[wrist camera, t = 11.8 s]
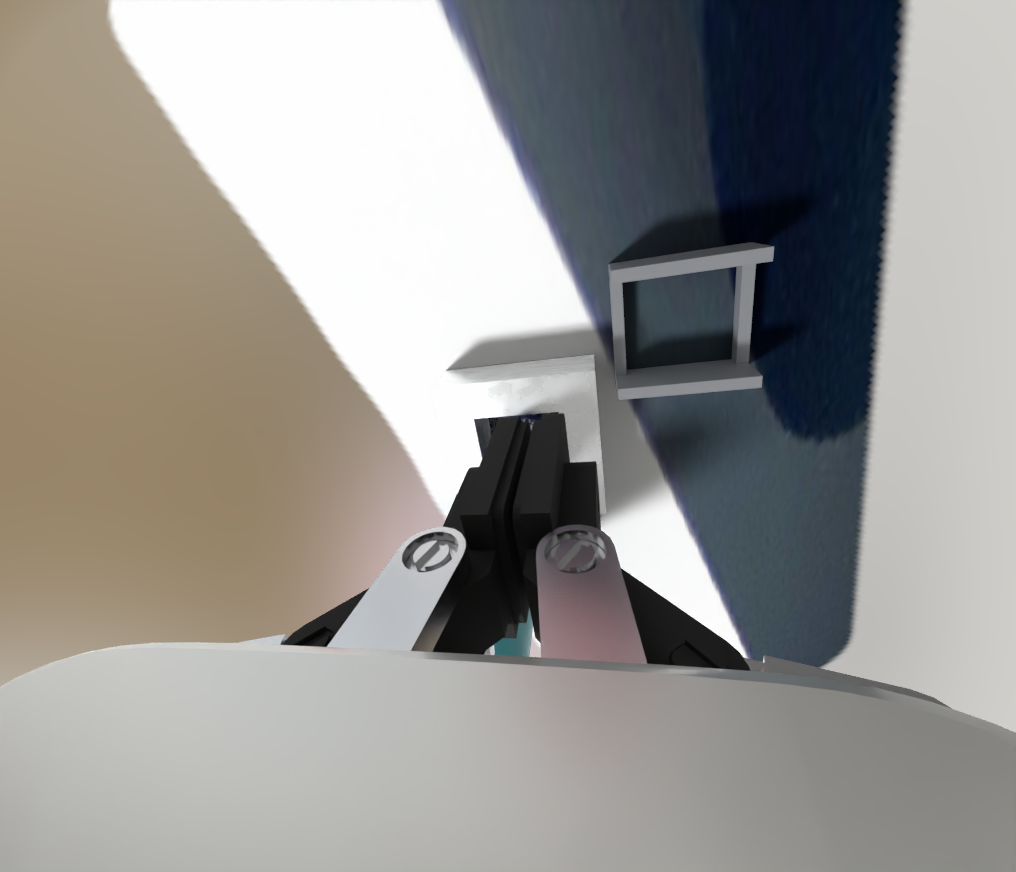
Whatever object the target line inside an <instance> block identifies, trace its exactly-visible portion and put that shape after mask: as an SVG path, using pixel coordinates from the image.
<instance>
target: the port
mask: <svg viewBox="0 0 1016 872" xmlns="http://www.w3.org/2000/svg"><path fill="white" fill-rule="evenodd" d="M430 389H431V393H432V397H433V401H434V405H435V409H436V413H437V417H438V421H439V425H440V429H441V433H442V437H443V441H444V445H445V449H446V453H447V457H448V461H449V465H450V469H451V473H452V477H453V481H454V485H455V489H456V493H458V491H459V489H460V486H461V484H462V482H463V480H464V477H465V475H466V473H467V471H468V469H469V468H471V467H479V466H480V463H481V461H482V458H483V456H484V453H485V451H486V448H487V446H488V443H489V441H490V438H491V436H492V434H491V429H490V424H489V419H488V418H492V417H504V416H515V415H527V414H539V413H551V412H559V413H564V416H565V422H566V431H567V440H568V449H569V458H570V462H591V461H596V463H597V474H598V486H599V501H600V514H606V501H605V485H604V473H603V460H602V447H601V435H600V422H599V409H598V397H597V384H596V372H595V359H594V354H591V355H582V356H573V357H564V358H555V359H546V360H537V361H528V362H519V363H510V364H501V365H492V366H483V367H474V368H465V369H456V370H447V371H445V372H444V373H443V374H442V375H441V376H440V377H439V378H438V380H437V381H436V382H435V383H434V384H433V385H432V386H431V387H430Z"/></svg>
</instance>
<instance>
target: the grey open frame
mask: <svg viewBox="0 0 1016 872" xmlns="http://www.w3.org/2000/svg"><path fill="white" fill-rule="evenodd" d="M773 254H774V246H769V245H764V244H759V243H754V242H749V243H742V244H735V245H729V246H722V247H716V248H709V249H703V250H696V251H690V252H683V253H676V254H670V255H663V256H657V257H650V258H644V259H637V260H631V261H624V262H617V263H611V264H608V266H609V283H610V300H611V316H612V333H613V350H614V367H615V382H616V388H617V394H618V400H626V399H637V398H648V397H660V396H671V395H683V394H694V393H705V392H717V391H728V390H739V389H751V388H761V387H762V375H761V374H760V373H759V372H758V371H757V370H756V369H755V368H754V367H753V366H751V365H750V364H749V351H750V338H751V325H752V311H753V298H754V284H755V271H756V264H757V263H764V262H771V261H773ZM736 266H737V270H736V288H735V305H734V323H733V340H732V358H731V359H727V360H717V361H708V362H698V363H688V364H678V365H668V366H658V367H649V368H639V369H629V370H626V350H625V329H624V308H623V288H622V283H624V282H631V281H638V280H645V279H652V278H659V277H666V276H673V275H680V274H687V273H694V272H701V271H708V270H715V269H722V268H729V267H736Z"/></svg>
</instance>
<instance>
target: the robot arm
mask: <svg viewBox="0 0 1016 872" xmlns="http://www.w3.org/2000/svg"><path fill="white" fill-rule="evenodd" d="M529 608H530V613H531V618H532V622H533V627H534V632H535V637H536V639H537V640H538V641H539V642H540V643H541V658H536V657H519V656H500V655H494V654H495V651H494V644H496V643H497V642H498V641H500V640H501V639H502V638H512V639H516V637H517V631H518V625H519V623H526V622H527V618H528V612H529ZM0 872H1016V733H1015V732H1012V731H1010V730H1008V729H1005V728H1003V727H1001V726H998V725H996V724H994V723H991V722H988V721H985V720H982V719H979V718H976V717H973V716H971V715H968V714H965V713H962V712H959V711H956V710H954V709H952V708H950V707H948V706H947V705H945V704H943V703H942V702H940V701H938V700H937V699H935V698H933V697H930V696H927V695H925V694H922V693H919V692H916V691H913V690H911V689H907V688H902V687H898V686H894V685H889V684H885V683H881V682H877V681H872V680H868V679H864V678H859V677H855V676H851V675H847V674H842V673H838V672H833V671H829V670H825V669H821V668H817V667H812V666H808V665H804V664H799V663H795V662H791V661H786V660H782V659H778V658H774V657H769V656H765V655H764V659H763V662H760V661H756V660H752V659H747V658H743V657H742V655H741V654H740V653H739V652H738V651H737V650H736V649H735V648H734V647H733V646H731V645H730V644H729V643H728V642H727V641H725V640H724V639H723V638H721V637H720V636H718V635H717V634H715V633H714V632H712V631H711V630H709V629H708V628H707V627H705V626H704V625H702V624H701V623H699V622H698V621H696V620H695V619H694V618H692V617H691V616H689V615H688V614H686V613H685V612H683V611H682V610H681V609H679V608H678V607H676V606H675V605H673V604H672V603H670V602H669V601H668V600H666V599H665V598H663V597H662V596H660V595H659V594H657V593H656V592H655V591H653V590H652V589H650V588H649V587H647V586H646V585H644V584H643V583H642V582H640V581H639V580H637V579H636V578H634V577H633V576H631V575H630V574H628V573H627V572H626V571H624V570H623V569H621V568H620V564H619V561H618V557H617V554H616V550H615V546H614V544H613V542H612V540H611V539H610V537H609V536H607V535H606V534H605V533H604V532H603V531H601V523H600V501H599V486H598V474H597V463H596V461H591V462H570V458H569V449H568V440H567V431H566V422H565V416H564V413H559V414H546V415H542V417H541V420H539V421H534V424H533V428H532V432H531V429H530V424H529V421H525V422H522V419H521V417H520V416H518V417H504V418H499V419H498V421H497V423H496V426H495V428H494V431H493V433H492V436H491V438H490V441H489V443H488V446H487V448H486V451H485V453H484V456H483V458H482V461H481V463H480V466H479V467H471V468H469V469H468V471H467V473H466V475H465V477H464V480H463V482H462V484H461V486H460V489H459V491H458V493H457V496H456V498H455V500H454V502H453V505H452V507H451V509H450V512H449V514H448V516H447V518H446V521H445V523H444V525H443V527H434V528H429V529H425V530H423V531H421V532H418V533H416V534H414V535H413V536H412V537H410V538H408V539H407V540H406V541H405V542H404V543H403V544H402V545H401V546H400V547H399V548H398V550H397V551H396V552H395V554H394V555H393V557H392V558H391V559H390V561H389V562H388V563H387V565H386V566H385V568H384V569H383V570H382V572H381V573H380V575H379V576H378V577H377V579H376V580H375V581H374V583H373V584H372V585H371V587H370V588H368V589H367V590H365V591H363V592H362V593H360V594H358V595H357V596H354V597H353V598H351V599H349V600H348V601H346V602H344V603H342V604H341V605H339V606H337V607H336V608H334V609H332V610H330V611H328V612H327V613H325V614H323V615H321V616H320V617H318V618H316V619H315V620H313V621H311V622H309V623H307V624H306V625H304V626H303V627H302V628H300V629H299V630H297V631H295V632H294V633H293V634H292V635H291V636H290V637H289V638H288V639H287V637H286V635H285V634H282V635H277V636H271V637H266V638H260V639H254V640H248V641H243V642H237V643H202V642H199V643H198V642H173V643H145V644H134V645H122V646H116V647H111V648H105V649H100V650H95V651H90V652H85V653H81V654H78V655H75V656H71V657H68V658H65V659H61V660H58V661H55V662H52V663H49V664H47V665H44V666H41V667H39V668H36V669H34V670H32V671H30V672H27V673H25V674H23V675H20V676H18V677H16V678H14V679H12V680H10V681H8V682H7V683H5V684H3V685H2V686H0Z"/></svg>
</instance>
